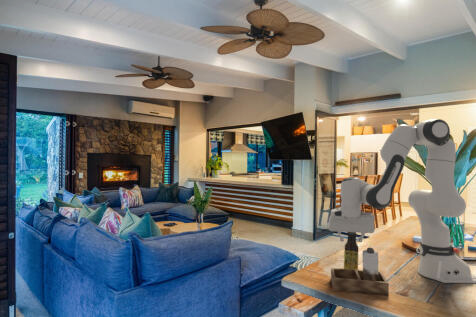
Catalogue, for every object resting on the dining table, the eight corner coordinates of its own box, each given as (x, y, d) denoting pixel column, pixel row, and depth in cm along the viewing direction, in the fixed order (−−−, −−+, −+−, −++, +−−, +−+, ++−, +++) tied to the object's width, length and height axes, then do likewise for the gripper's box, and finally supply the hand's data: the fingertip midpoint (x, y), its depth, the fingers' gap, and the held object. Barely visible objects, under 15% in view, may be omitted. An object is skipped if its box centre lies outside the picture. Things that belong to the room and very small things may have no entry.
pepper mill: (376, 283, 126) (376, 245, 126) (380, 289, 121) (379, 250, 121) (361, 281, 128) (361, 244, 128) (364, 287, 122) (363, 249, 122)
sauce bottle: (343, 276, 137) (343, 233, 136) (343, 271, 142) (343, 230, 142) (358, 278, 134) (358, 234, 134) (358, 273, 140) (358, 231, 140)
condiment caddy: (381, 283, 129) (381, 271, 129) (388, 295, 117) (388, 283, 117) (331, 278, 134) (330, 267, 134) (333, 290, 122) (333, 278, 122)
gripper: (373, 211, 139) (373, 240, 139) (327, 209, 144) (328, 238, 144) (376, 213, 133) (376, 244, 133) (328, 212, 137) (328, 242, 137)
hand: (350, 241), depth 138 cm, fingers open, 7 cm apart
